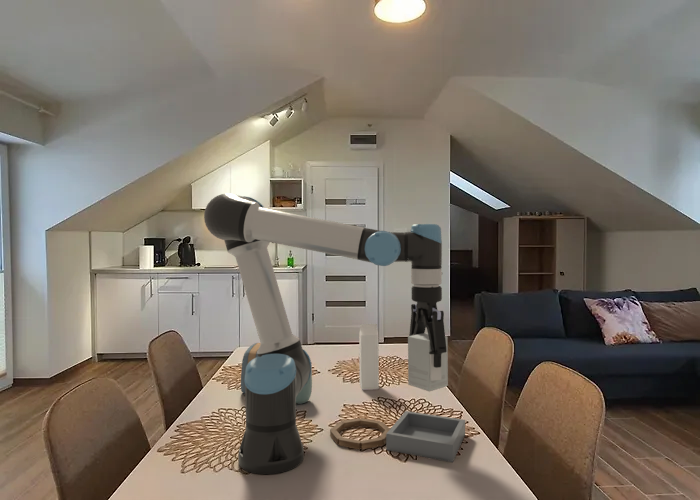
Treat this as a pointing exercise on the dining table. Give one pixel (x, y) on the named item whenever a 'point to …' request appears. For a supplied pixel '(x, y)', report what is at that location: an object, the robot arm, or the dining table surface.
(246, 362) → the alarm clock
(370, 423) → the ring
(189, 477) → the dining table surface
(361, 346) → the milk
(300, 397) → the cup
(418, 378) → the supplement box
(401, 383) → the dining table surface
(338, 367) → the dining table surface
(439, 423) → the bin
